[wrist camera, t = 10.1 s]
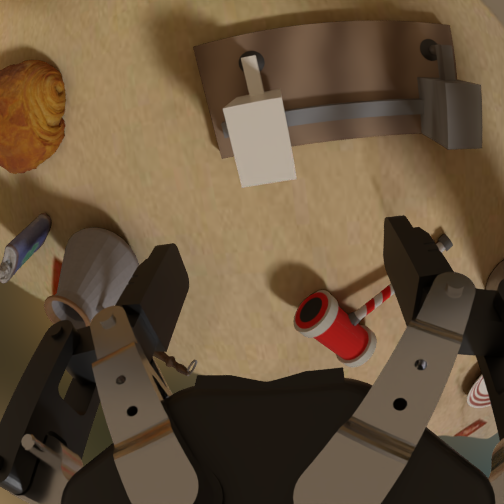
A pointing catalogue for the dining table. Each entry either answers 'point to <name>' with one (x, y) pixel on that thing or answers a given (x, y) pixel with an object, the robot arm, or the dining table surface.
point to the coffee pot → (95, 281)
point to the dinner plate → (478, 394)
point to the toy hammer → (344, 322)
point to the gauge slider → (259, 132)
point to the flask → (24, 246)
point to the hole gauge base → (349, 81)
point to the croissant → (30, 114)
